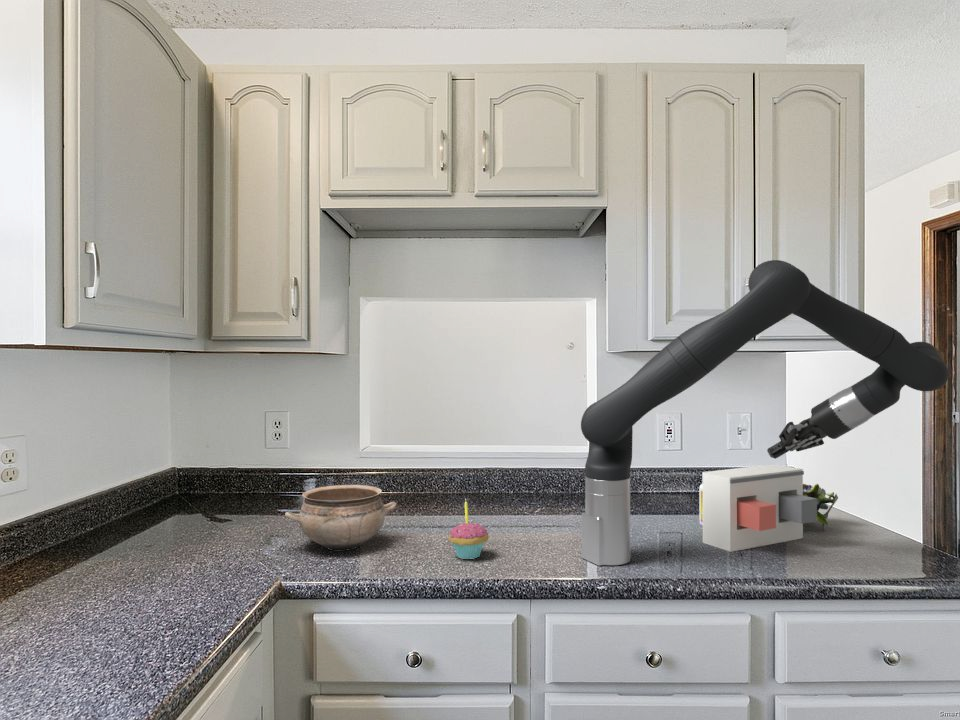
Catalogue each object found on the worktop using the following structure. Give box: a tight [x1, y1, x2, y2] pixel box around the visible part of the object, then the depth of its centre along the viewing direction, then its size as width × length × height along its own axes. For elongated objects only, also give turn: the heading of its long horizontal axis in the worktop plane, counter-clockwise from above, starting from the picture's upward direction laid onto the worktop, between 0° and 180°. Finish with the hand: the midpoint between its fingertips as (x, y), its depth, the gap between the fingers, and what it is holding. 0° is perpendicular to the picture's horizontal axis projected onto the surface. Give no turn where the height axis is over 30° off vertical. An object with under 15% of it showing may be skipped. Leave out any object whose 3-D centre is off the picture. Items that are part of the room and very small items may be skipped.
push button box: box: [701, 463, 805, 553], centre depth 151 cm, size 23×8×16 cm, turn 116°
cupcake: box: [448, 498, 490, 559], centre depth 141 cm, size 9×8×12 cm
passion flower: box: [803, 483, 839, 532], centre depth 163 cm, size 13×12×14 cm
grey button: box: [779, 494, 818, 525], centre depth 148 cm, size 5×6×5 cm
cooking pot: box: [284, 484, 397, 551], centre depth 149 cm, size 25×19×12 cm
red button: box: [737, 499, 776, 531], centre depth 143 cm, size 5×6×5 cm
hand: (770, 454), depth 144 cm, fingers closed
